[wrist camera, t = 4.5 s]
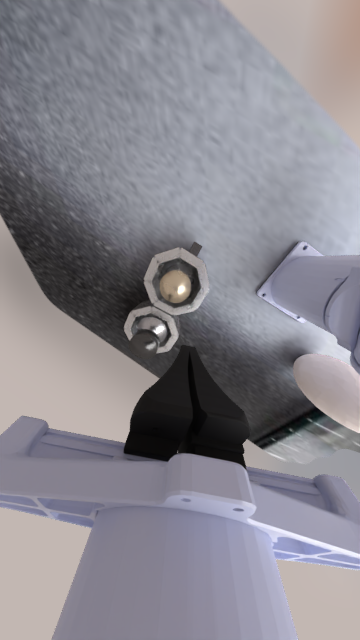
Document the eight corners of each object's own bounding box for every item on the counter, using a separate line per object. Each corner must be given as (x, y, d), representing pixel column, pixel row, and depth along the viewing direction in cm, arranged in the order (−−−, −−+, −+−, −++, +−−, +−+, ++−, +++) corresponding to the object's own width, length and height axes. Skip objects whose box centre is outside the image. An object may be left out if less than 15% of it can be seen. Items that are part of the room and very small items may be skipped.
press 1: (220, 261, 18) (227, 262, 15) (187, 312, 22) (187, 323, 18) (171, 230, 17) (166, 223, 14) (145, 289, 21) (136, 296, 17)
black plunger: (134, 333, 21) (119, 352, 17) (144, 310, 19) (131, 324, 15) (159, 345, 22) (152, 367, 17) (172, 324, 20) (167, 342, 16)
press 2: (127, 332, 25) (116, 344, 21) (145, 290, 21) (136, 297, 17) (164, 349, 26) (159, 364, 22) (187, 313, 22) (186, 324, 19)
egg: (279, 375, 27) (338, 453, 16) (282, 346, 24) (357, 418, 13) (321, 371, 25) (415, 452, 15) (329, 339, 22) (455, 412, 12)
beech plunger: (200, 274, 19) (203, 279, 14) (184, 301, 20) (182, 313, 16) (171, 257, 18) (166, 257, 14) (157, 287, 20) (148, 294, 15)
